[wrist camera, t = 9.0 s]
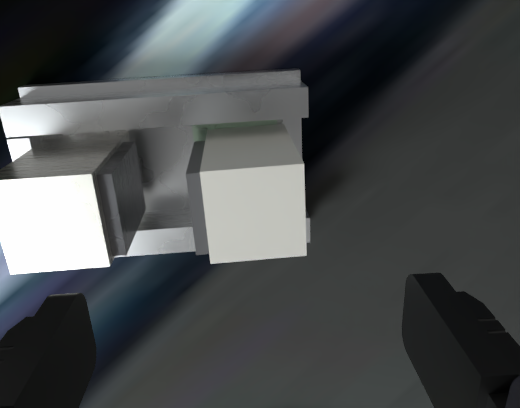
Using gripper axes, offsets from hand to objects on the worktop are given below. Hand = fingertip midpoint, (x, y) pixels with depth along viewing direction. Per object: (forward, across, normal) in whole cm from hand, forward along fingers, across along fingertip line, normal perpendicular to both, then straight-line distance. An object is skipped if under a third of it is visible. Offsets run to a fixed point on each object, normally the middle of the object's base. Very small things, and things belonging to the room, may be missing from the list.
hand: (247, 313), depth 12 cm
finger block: (+14, 0, 0) cm, 14 cm away
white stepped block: (+15, +4, 0) cm, 16 cm away
